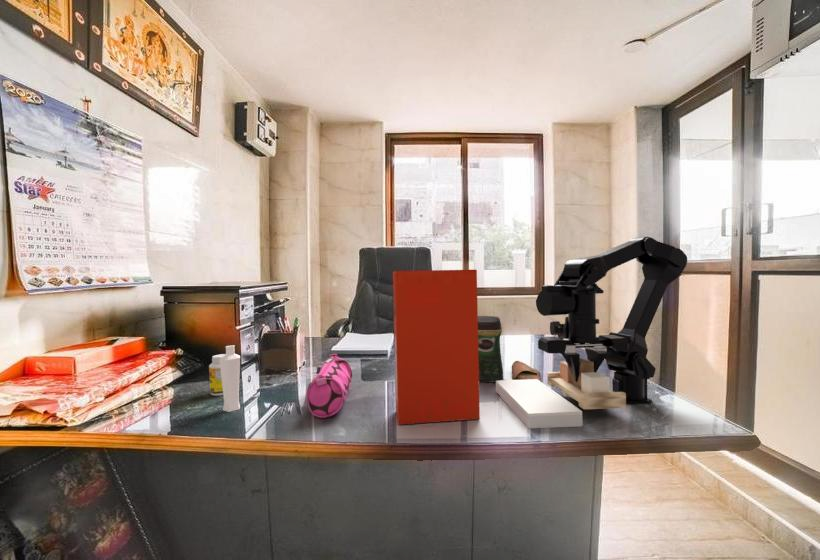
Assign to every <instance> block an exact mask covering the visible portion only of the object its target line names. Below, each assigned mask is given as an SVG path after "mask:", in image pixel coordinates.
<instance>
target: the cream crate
mask: <svg viewBox="0 0 820 560" xmlns="http://www.w3.org/2000/svg"><path fill="white" fill-rule="evenodd" d="M610 379H611V378H610V377H609V376H607V375H606V374H603V373H601V372H600V371H599V372H598V371H597V372H588V373H581V391H583V392H584V393H603V392H610V390H611V387H610V386H611V385H610V384H611V380H610Z"/></svg>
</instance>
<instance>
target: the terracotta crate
mask: <svg viewBox="0 0 820 560" xmlns="http://www.w3.org/2000/svg"><path fill="white" fill-rule="evenodd" d="M559 372H560V378H561V379H563V380H565V381H566V382H572V375H571V372H570V369H569V367H568V364H567V362H566V360H565V361H559Z"/></svg>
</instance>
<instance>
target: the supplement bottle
mask: <svg viewBox="0 0 820 560" xmlns="http://www.w3.org/2000/svg"><path fill="white" fill-rule="evenodd" d="M225 355H226V353H220V354H216V355H212V357H211V363H210V364H209V365H208V373H209V377H208V378H209V393H210V395H211V396H215V397H219V396H223V387H222V378H221V369H220V360H219V359H220V358H221V357H223V356H225Z"/></svg>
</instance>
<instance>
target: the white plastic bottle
mask: <svg viewBox="0 0 820 560" xmlns="http://www.w3.org/2000/svg"><path fill="white" fill-rule="evenodd" d="M235 346H236V345H234V344H232V345H231V344H230V345H226V346H224V348H225V354H226V355H225V356H223V357H221V358H220V359H219V360H220V369H221V378H222V387H223V395H222V396H223V407H222V411H224V412H228V413H229V412H230V413H231V412H234V411H237V410H240V409H241V404H240V401H239V398H240V397H239V396H240V394H239V393H240V370H241V355H239V354H237V353H235V351H236V350H235Z"/></svg>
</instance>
